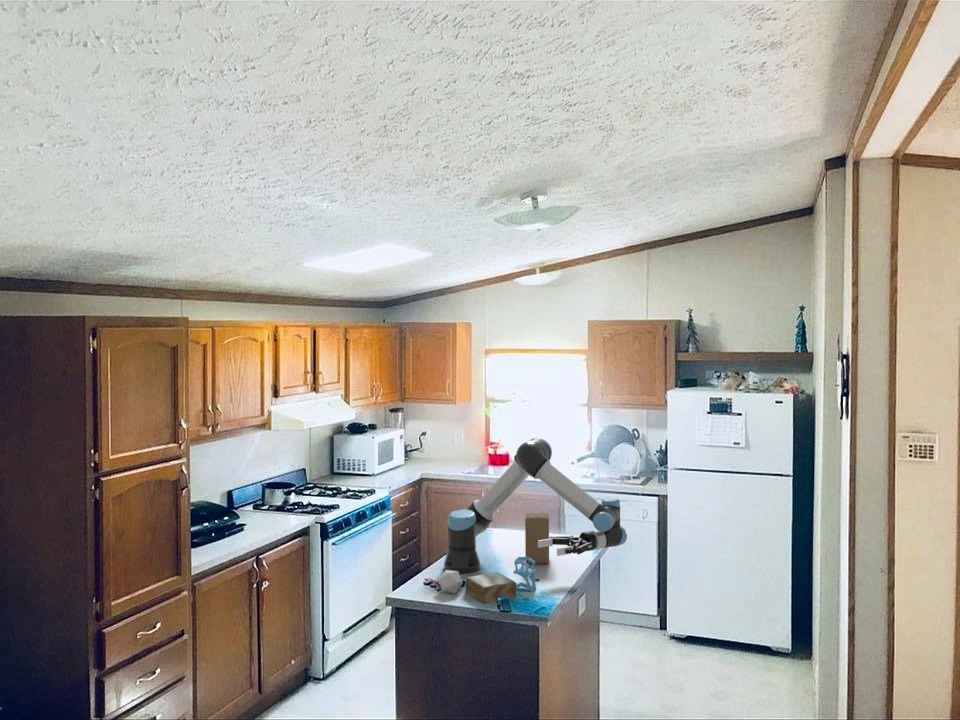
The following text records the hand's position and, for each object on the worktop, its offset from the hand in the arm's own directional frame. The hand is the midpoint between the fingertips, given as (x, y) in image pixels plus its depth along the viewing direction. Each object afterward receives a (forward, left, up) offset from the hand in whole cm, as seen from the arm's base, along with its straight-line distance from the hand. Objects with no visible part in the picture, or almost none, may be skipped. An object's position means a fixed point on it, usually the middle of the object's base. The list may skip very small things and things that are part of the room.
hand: (547, 548), depth 298 cm
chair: (-8, -5, -15) cm, 18 cm away
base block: (-21, -14, -14) cm, 29 cm away
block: (-5, +32, -15) cm, 35 cm away
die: (-36, -11, -15) cm, 41 cm away
